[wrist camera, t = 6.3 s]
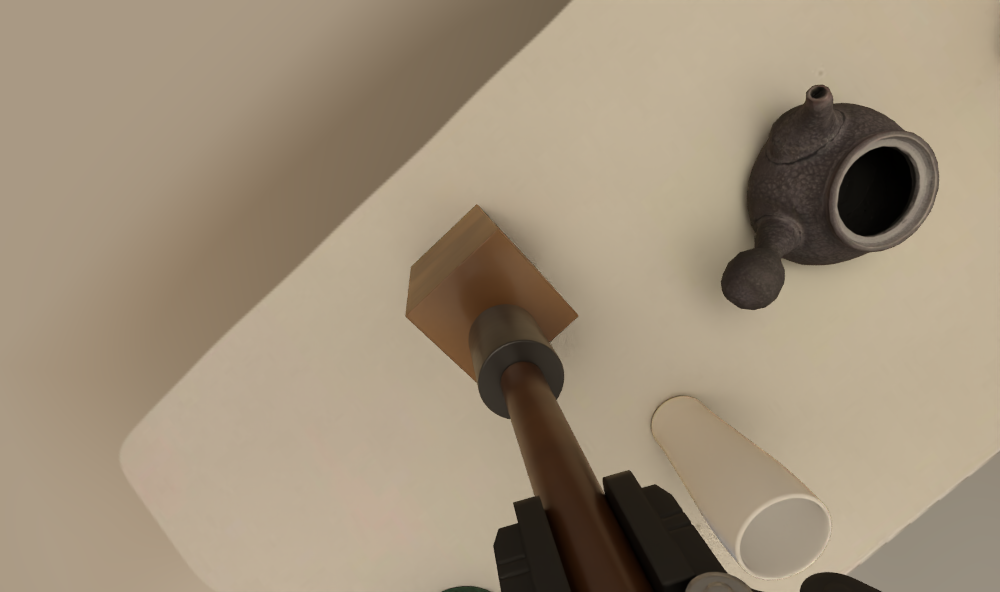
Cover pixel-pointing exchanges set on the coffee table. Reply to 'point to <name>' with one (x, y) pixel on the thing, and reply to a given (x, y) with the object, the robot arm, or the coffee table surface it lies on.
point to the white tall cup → (742, 492)
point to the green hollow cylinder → (466, 589)
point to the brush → (552, 450)
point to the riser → (477, 287)
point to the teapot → (829, 193)
